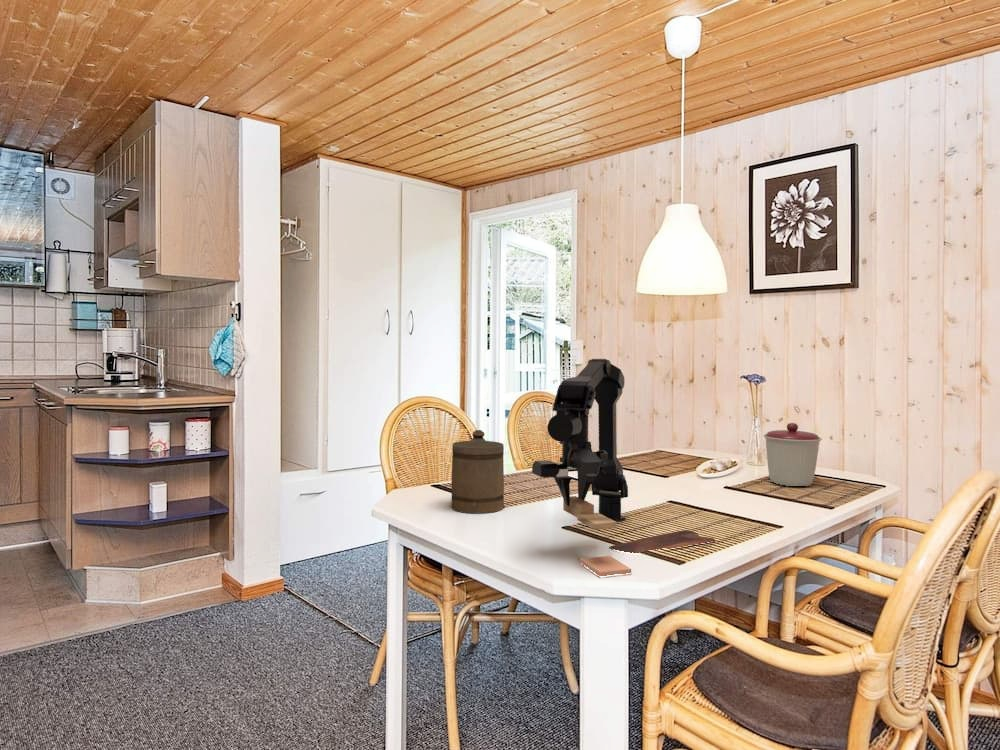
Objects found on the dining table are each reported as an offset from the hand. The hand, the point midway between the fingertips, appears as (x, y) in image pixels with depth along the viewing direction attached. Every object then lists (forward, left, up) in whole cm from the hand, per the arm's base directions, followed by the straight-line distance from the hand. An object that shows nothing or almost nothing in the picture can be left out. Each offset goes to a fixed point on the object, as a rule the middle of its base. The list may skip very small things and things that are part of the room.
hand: (574, 505), depth 145 cm
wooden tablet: (+3, +21, -11) cm, 24 cm away
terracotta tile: (+10, 0, -10) cm, 14 cm away
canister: (-42, +103, -10) cm, 112 cm away
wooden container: (-43, -9, -10) cm, 45 cm away
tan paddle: (+5, 0, -2) cm, 6 cm away
